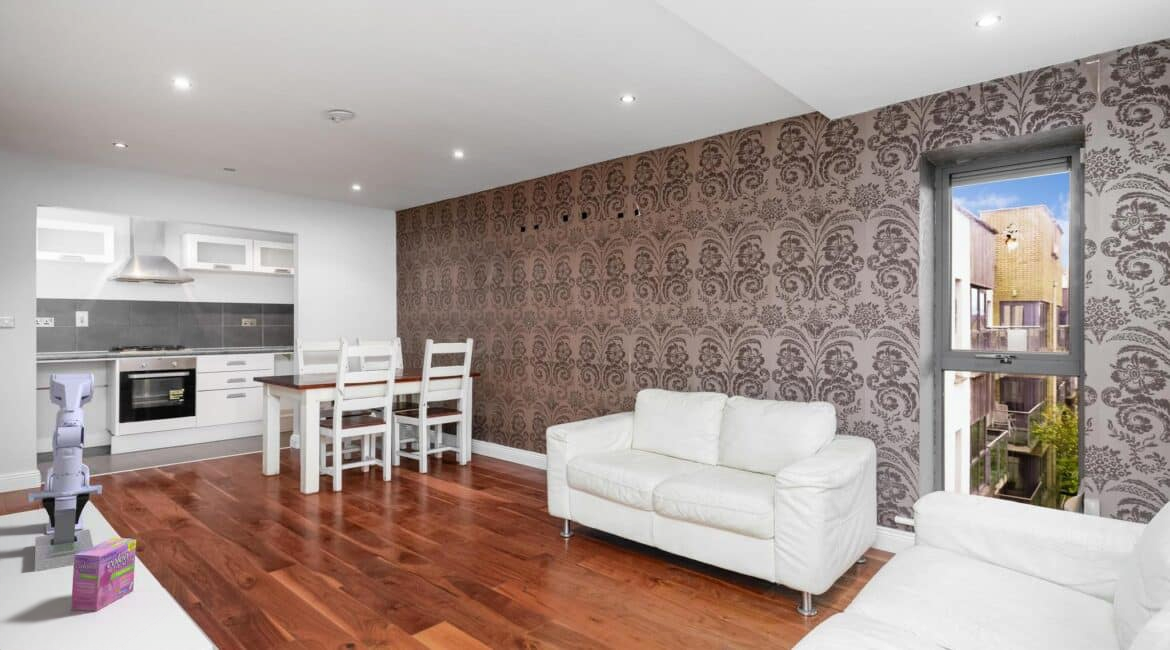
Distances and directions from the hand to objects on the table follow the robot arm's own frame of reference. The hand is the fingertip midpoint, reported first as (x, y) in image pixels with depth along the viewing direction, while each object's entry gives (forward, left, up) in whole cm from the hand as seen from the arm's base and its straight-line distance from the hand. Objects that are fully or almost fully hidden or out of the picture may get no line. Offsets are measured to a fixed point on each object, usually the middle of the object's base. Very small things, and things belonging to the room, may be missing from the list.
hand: (64, 524), depth 159 cm
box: (+40, +6, -7) cm, 41 cm away
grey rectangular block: (0, 0, -4) cm, 4 cm away
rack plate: (+3, 0, -6) cm, 7 cm away
